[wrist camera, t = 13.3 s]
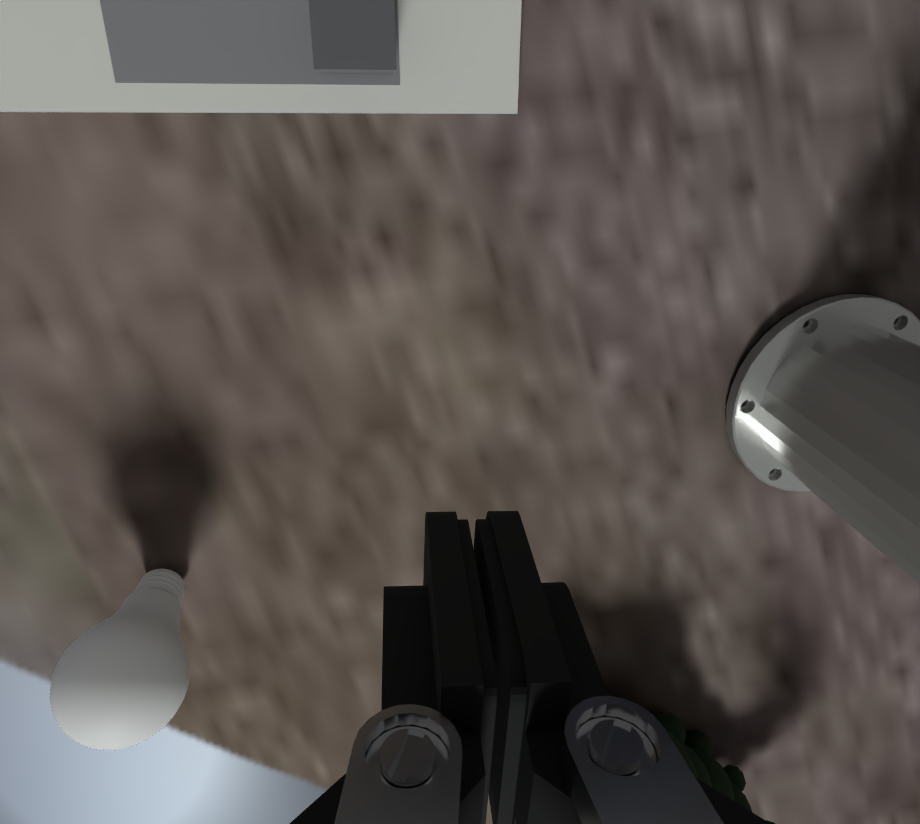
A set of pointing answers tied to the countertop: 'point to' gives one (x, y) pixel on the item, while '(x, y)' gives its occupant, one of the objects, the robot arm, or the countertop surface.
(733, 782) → the toy figurine
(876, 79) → the countertop surface
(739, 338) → the countertop surface
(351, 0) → the on handle
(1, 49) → the board
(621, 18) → the countertop surface
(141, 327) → the countertop surface
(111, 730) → the lightbulb
